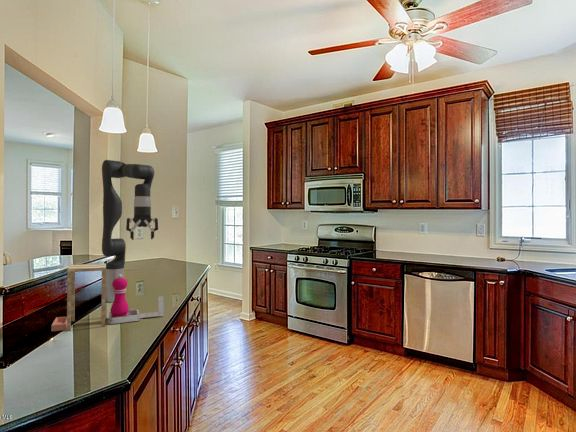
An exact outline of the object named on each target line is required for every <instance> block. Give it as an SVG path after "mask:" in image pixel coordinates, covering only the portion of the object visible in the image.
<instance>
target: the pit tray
mask: <svg viewBox="0 0 576 432" xmlns="http://www.w3.org/2000/svg"><path fill="white" fill-rule="evenodd" d="M50 326H51V327H50V328H51V332H59V331H67V316H59V317H58V316H57V317H55V319H54V320H53V322H52V324H51V325H50Z"/></svg>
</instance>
